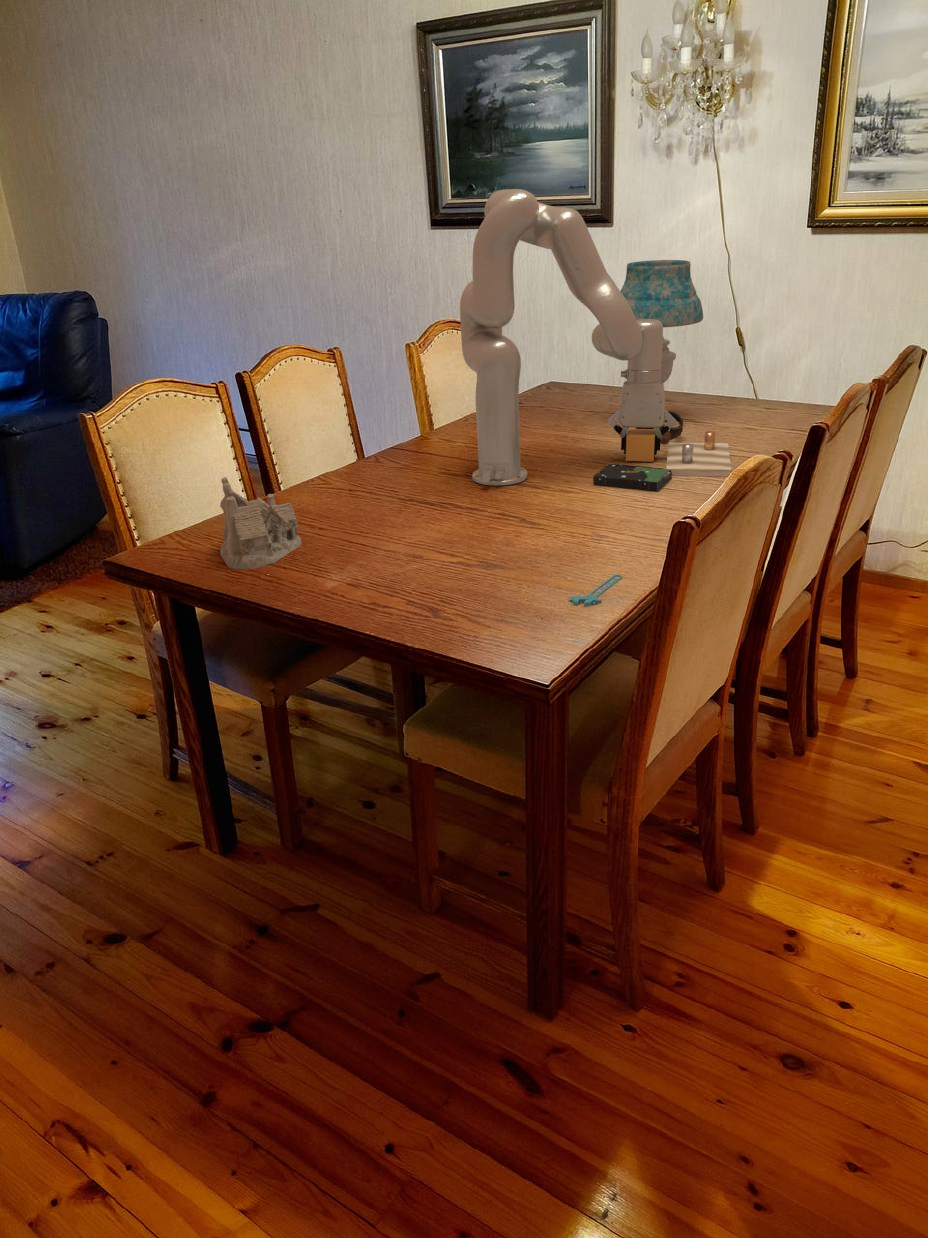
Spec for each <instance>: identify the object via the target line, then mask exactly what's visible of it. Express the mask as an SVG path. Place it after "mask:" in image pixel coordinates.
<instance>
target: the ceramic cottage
mask: <svg viewBox="0 0 928 1238" xmlns="http://www.w3.org/2000/svg"><path fill="white" fill-rule="evenodd" d="M220 481H221V483H222V491H223V494H224V497H223V498H222V499H221V501H220V505H219V507H220V508H221V510H222V511H223V516H224V521H225V522H224V523H223V524H224V526H223V527H224V528H223V532H222V533H223V536H224V538H223V539H224V542H223V543H222V545H221V546H220V549H219V550H220V551H219V553H220V557H221V558H222V560H223V561H224V563H225V564H226V566H227V567H228V568H229V569H232V570H236V571H237V570H238V571H243V570H244V571H247V570H253V569H258V568H262V567H265V566H266V567H267V566H268V565H272V564H275V563H276V562H278V561H279V560H281V559H283V558H284V557H285V556H287V555H289V554H290V553H291V552H293V551H295V550H296V549H297V548H299V547H301V545H302V539H301V537H300V536H299V535H298V531H299V530H298V526H299V524H298V519H297V517H296V514H295V510H294V507H293V505H292V503H291V502H287V503H283V504H277V503H276V500H275V496H274V494H273V493H268V494H267V495H266V498H267V501H264V500H263V499H262V498H260V497H257V499H252V500H249V501H248V500H247V498H245V497H243V496H242V495H240V494H239V493H237V492H236V491H235V490H233V488H232V487H231V484H230V482H229V480H228V477H227V476H224V477H222V478H220Z"/></svg>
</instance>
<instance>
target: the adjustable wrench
mask: <svg viewBox="0 0 928 1238" xmlns="http://www.w3.org/2000/svg"><path fill="white" fill-rule="evenodd" d="M622 579H623V576H622V575H621V574H613V575H612V576H611V577H609V578H608V579H606V581H604V582H603V583H602V584H600V585H598V586H597V587H596V588H595V589H594V590H593V591H591V592H590V593H588V594H586V595H575V596H569V599H568V602H570V603H572V605H574V606H576V607H578V606H579V604H583V607H590V606H596V605H599V604H602V599H599V597H600V596H601V595H602V594H604V593H605V592H606V591H608V590H609V589H610V588H612V587H613V586H614V585H615V584H617V583H618V582H619V581H621V580H622Z"/></svg>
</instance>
